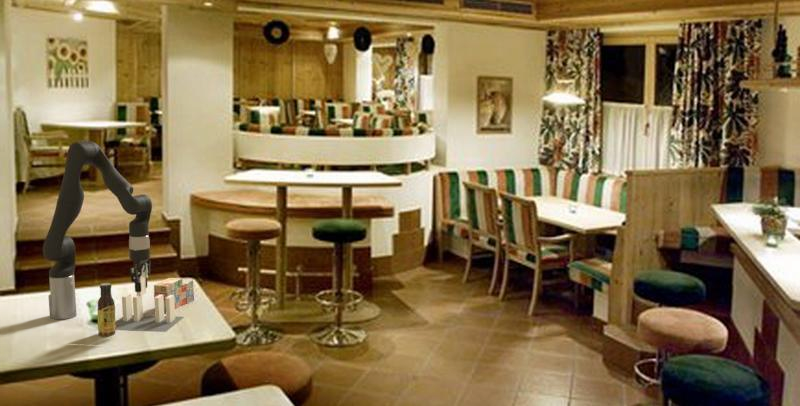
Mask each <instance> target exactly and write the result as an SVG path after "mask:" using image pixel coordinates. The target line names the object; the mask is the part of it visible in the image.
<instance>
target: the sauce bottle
mask: <svg viewBox="0 0 800 406" xmlns="http://www.w3.org/2000/svg"><path fill="white" fill-rule="evenodd" d="M99 288H100V297H99V299H98V301H97V333H98V336H99V337H101V338H102V337H111V336H114V335H115V334H116V331H117V330H116V326H115V322H116V305H115V301H114V299H113V296H112V283H110V282H104V283H100V284H99Z"/></svg>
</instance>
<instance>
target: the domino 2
mask: <svg viewBox="0 0 800 406" xmlns="http://www.w3.org/2000/svg"><path fill="white" fill-rule="evenodd" d="M138 274H140V272H138ZM138 278H139V276H138ZM145 294H147V288H146V276H145V272H143V276H142V277H141V292H136V295H137V296H142V297H143V296H144V295H145Z"/></svg>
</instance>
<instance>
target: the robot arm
mask: <svg viewBox="0 0 800 406" xmlns="http://www.w3.org/2000/svg"><path fill="white" fill-rule="evenodd" d="M65 158H66V160H65V167H64V171H63V177H62V178H63V179H62V182H61V186H60V190H59V194H58V196H57V201H56V205H55V208H54V213H53V216H52V220H51V224H50V226H49V229H48V231H47V233H46V236H45V240H44V242H43V244H42V245H43V246H42V253H43V256H44V258H45V259H46V260H47V261H50V262H55V263H54V265H53V266H52V267H51V268H50V269H49V271H48V274H49V276H48V277H49V279H48V280H49V290H50V294H48V307H49V308H48V309H49V318H50V319H53V320H68V319H72V318H74V317H76V316H77V300H76V299H77V298H76V286H75V285H76V284H75V269H76V263H77V261H76V244H75V242H74V240H73V238H72V237H70V236H69V235H66V234H67V232H68V230H69V229H70V227H71V226H72V224H73V223H74V222H75V221H76V219H77V217H78V216H79V215H80V213H81V212H82V211H81V210H82V207H83V203H84V201H85V200H84V199H85V193H84V189H83V187H82V183H81V172H82V170H83V167H84V166H90V165H91V166H93V167H95V168H96V169H97V170H98V171H99V172H100V173H101V175H102V179H103V183H104V184H105V187H106V188H107V189H108V190H109V191H110V192H111V193H112V194H113V195H114V196H115V197H116V198H117V200H118V202H119V204H120V205H121V208H122V209H123V211H124V212H125V213H126V214H128V215H133V216H134V215H135V217H134V219H132V220H131V221H130V222H129V224H128V234H129V235H128V236H129V239H128V247H129V248H128V251H129V260H130V261H133V265H132V267H129V276H130V280H131V283H134V292H135V293H137V292H141V277H142V276H143V272H145V276H146V289H147V288H148V278H149V276H150V275H151V263H152V261H151V260H150V258H151V244H150V243H151V242H150V241H151V240H150V236H149V235H150V233H149V223H150V218H151V215H152V209H153V202H152V200H151V197H149V196H148V195H147V194H137V195H133V193H134V187H133V185H132V184H131V183H130V182H129V181H127V179H126V178H125V177H124V176H123V175H122V174H120V172H119V171H118V170H117V169H116V168H115V166H114V165H113V163H112V162H111V161H110V160H109V158H108V157H107V155H106V154H105V152H104V151H103V149H102V148H101V147H100V146H99V145H98V144H97V143H96V142H94V141H92V140H91V141H90V140H89V141H88V140H87V141H86V140H85V141H76V142H75V141H74V142H72V143H71V144H70V145H69V147H68V149H67V153H66V157H65ZM138 272H140V274H138ZM138 276H139V278H138Z"/></svg>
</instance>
